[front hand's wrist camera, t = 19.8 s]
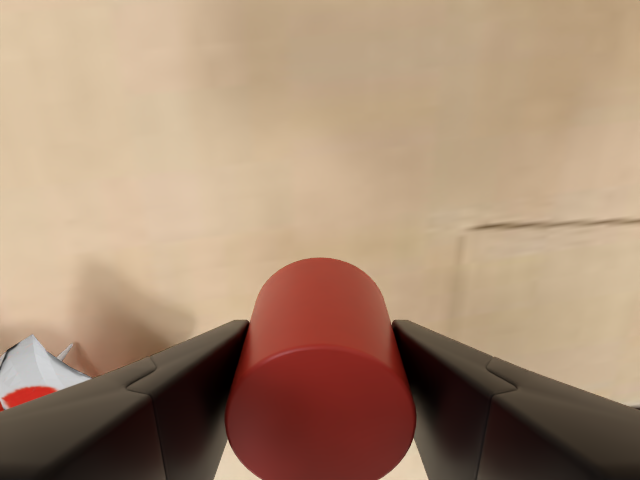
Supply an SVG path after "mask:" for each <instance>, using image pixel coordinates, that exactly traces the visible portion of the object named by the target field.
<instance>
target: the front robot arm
mask: <svg viewBox="0 0 640 480" xmlns="http://www.w3.org/2000/svg"><path fill="white" fill-rule="evenodd" d="M248 327H249V321H248V320H233V321H231V322H229V323H226V324H224V325H222V326H219V327H217V328H215V329H212V330H210V331H208V332H205V333H203V334H201V335H198V336H196V337H194V338H191V339H189V340H187V341H184V342H182V343H180V344H177V345H175V346H173V347H170V348H168V349H166V350H163V351H161V352H159V353H156V354H154V355H152V356H150V357H146V358H143V359H141V360H139V361H136V362H134V363H131V364H129V365H127V366H124V367H122V368H119V369H116V370H114V371H111V372H108V373H106V374H103V375H101V376H98V377H95V378H92V379H89V380H87V381H84V382H81V383H78V384H76V385H73V386H70V387H67V388H65V389H62V390H59V391H56V392H53V393H51V394H48V395H45V396H42V397H40V398H37V399H34V400H31V401H28V402H26V403H23V404H20V405H17V406H15V407H12V408H9V409H6V410H4V411H1V412H0V480H214V477H215V474H216V471H217V468H218V465H219V463H220V460H221V457H222V454H223V451H224V448H225V445H226V443H227V440H228V437H227V434H226V429H225V423H224V413H225V407H226V402H227V399H228V395H229V392H230V388H231V385H232V382H233V378H234V375H235V371H236V368H237V364H238V361H239V358H240V354H241V351H242V347H243V344H244V340H245V337H246V334H247V330H248ZM392 329H393V332H394V335H395V339H396V342H397V345H398V349H399V352H400V355H401V359H402V362H403V365H404V369H405V372H406V376H407V379H408V382H409V386H410V389H411V392H412V396H413V399H414V402H415V406H416V414H417V421H416V429H415V434H414V440H415V442H416V445H417V448H418V451H419V454H420V457H421V459H422V462H423V465H424V468H425V471H426V473H427V476H428V479H429V480H640V410H637V409H634V408H632V407H629V406H626V405H623V404H620V403H618V402H615V401H612V400H609V399H606V398H604V397H601V396H598V395H595V394H593V393H590V392H587V391H584V390H581V389H579V388H576V387H573V386H570V385H567V384H565V383H562V382H559V381H556V380H553V379H551V378H548V377H545V376H542V375H540V374H537V373H534V372H532V371H529V370H526V369H524V368H521V367H519V366H516V365H514V364H511V363H509V362H506V361H504V360H501V359H499V358H497V357H492V356H491V355H488V354H486V353H484V352H481V351H479V350H477V349H474V348H472V347H469V346H467V345H465V344H462V343H460V342H458V341H455V340H453V339H451V338H448V337H446V336H444V335H441V334H439V333H437V332H434V331H432V330H429V329H427V328H425V327H422V326H420V325H418V324H415V323H413V322H411V321H408V320H394V321H393V322H392Z"/></svg>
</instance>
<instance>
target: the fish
mask: <svg viewBox="0 0 640 480" xmlns="http://www.w3.org/2000/svg"><path fill="white" fill-rule="evenodd" d="M72 346H73V344H70V345H69V346H68V347H67V348H66V349H65V350H64V351H63V352H62V353H61V354H60V355H58V356H57V357H55V356H53V355H52V354H50V353H49V352H47V351H46V349H45V348H44V347H43V346H42V345H41V344H40V342H39V341H38V340H37V339H36V338H35V336H34V335H33V334H32V335H30V336H29V337H27V338H26V339H24V340H22V341H21V342H19V343H18V344H16V345H15V346H13V347H11V348H10V349H8V350H7V351H6V352H5V353H4V354H3V355H2V356H1V357H0V412H1V411H4V410H6V409H9V408H12V407H15V406H17V405H20V404H23V403H26V402H28V401H31V400H34V399H37V398H40V397H42V396H45V395H48V394H51V393H53V392H56V391H59V390H62V389H65V388H67V387H70V386H73V385H76V384H78V383H81V382H84V381H87V380H89V379H92V378H91V377H89V376H87V375H85V374H83V373H81V372H79V371H77V370H75V369H73V368H71V367H69V366H68V365H66V364H65V363H63V362H62V360H63V359H64V357H65V356H66V355H67V353H68V352H69V350H70V349H71V347H72Z"/></svg>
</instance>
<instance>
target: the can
mask: <svg viewBox="0 0 640 480" xmlns="http://www.w3.org/2000/svg"><path fill="white" fill-rule="evenodd" d="M416 421H417V414H416V406H415V402H414V399H413V396H412V392H411V389H410V386H409V382H408V379H407V376H406V372H405V369H404V365H403V362H402V359H401V355H400V352H399V349H398V345H397V342H396V339H395V335H394V332H393V329H392V325H391V322H390V318H389V315H388V312H387V308H386V305H385V302H384V298H383V296H382V294H381V291H380V290H379V288H378V286H377V285H376V283H375V282H374V281H373V280H372V279H371V278H370V277H369V276H368V275H367V274H366V273H365V272H363V271H362V270H360V269H359V268H357V267H356V266H353V265H351V264H349V263H347V262H344V261H341V260H336V259H332V258H309V259H303V260H300V261H297V262H294V263H291V264H289V265H287V266H285V267H283V268H282V269H280V270H279V271H277V272H276V273H275V274H274V275H272V276H271V277H270V278H269V279H268V280H267V282H266V283H265V284H264V286H263V287H262V289H261V291H260V292H259V294H258V297H257V300H256V303H255V306H254V310H253V313H252V317H251V320H250V323H249V327H248V330H247V334H246V337H245V340H244V344H243V347H242V351H241V354H240V358H239V361H238V364H237V368H236V371H235V375H234V378H233V382H232V385H231V388H230V392H229V395H228V399H227V402H226V407H225V413H224V423H225V429H226V434H227V437H228V440H229V443H230V446H231V448H232V449H233V451H234V453H235V455H236V456H237V457H238V459H239V460H240V462H241V463H242V464H243V465H244V466H245V467H246V468H247V469H248V470H250V471H251V472H252V473H253V474H254V475H256V476H257V477H259V478H260V479H262V480H379V479H380V478H382V477H384V476H385V475H386V474H388V473H389V472H390V471H391V470H393V469H394V468H395V467H396V466H397V465H398V464H399V462H400V461H401V460H402V459H403V457H404V456H405V455H406V453H407V451H408V449H409V448H410V446H411V443H412V440H413V438H414V434H415V429H416Z"/></svg>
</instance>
